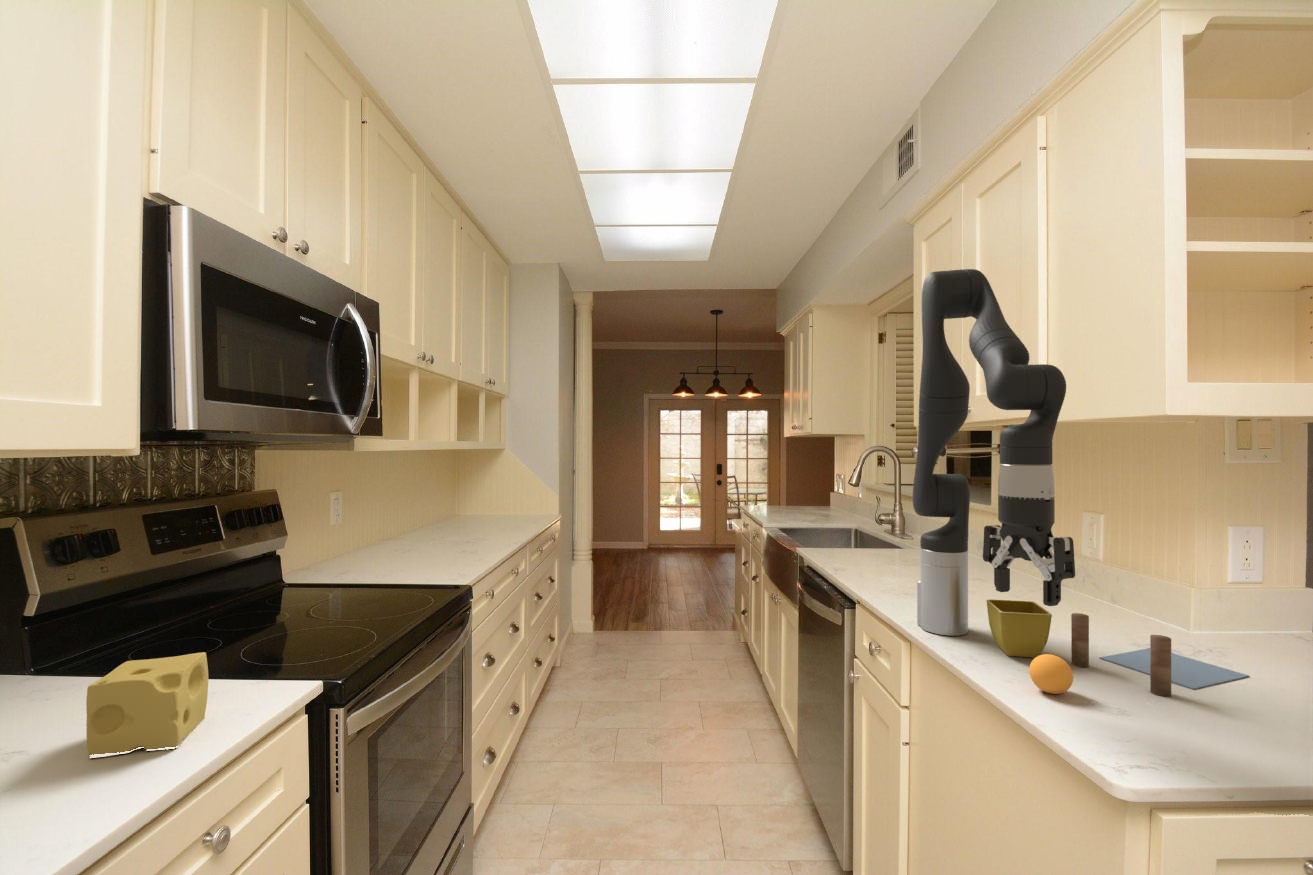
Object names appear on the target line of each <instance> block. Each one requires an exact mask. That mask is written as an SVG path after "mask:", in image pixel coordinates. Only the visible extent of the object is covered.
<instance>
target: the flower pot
mask: <svg viewBox="0 0 1313 875" xmlns="http://www.w3.org/2000/svg"><path fill="white" fill-rule="evenodd" d="M986 606H987V617H988V625H989V628H990V632H991V634H992V637H993V638H994V640H995V642H996V644H997V647H999V649H1000V650H1002V651H1003V652H1004V654H1005V655H1007V656H1008V657H1020V658H1031V659H1032V658H1033V659H1034V658H1036V657H1037V656H1040V655H1041V653H1042V652H1043V651H1044V650H1045V648H1046V645H1047V643H1048V640H1049V637H1050V629H1051V624H1052V617H1053V614H1052V613H1051V612H1049V611H1048V610H1047V609H1045V608H1044V607H1043V606H1041V605H1040V604H1038V603H1036V602H1035V601H1029V600H1009V599H1006V600H1005V599H986Z"/></svg>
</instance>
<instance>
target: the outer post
mask: <svg viewBox="0 0 1313 875" xmlns="http://www.w3.org/2000/svg"><path fill="white" fill-rule="evenodd" d="M1149 638H1150V639H1149V642H1150V644H1149V645H1150V646H1149V648H1150V675H1149V676H1150V693H1151V694H1154V695H1156V696H1160V697H1165V698H1168V697H1171V696H1172V682H1171V653H1172V637H1168V636H1166V635H1160V634H1151V635H1150V636H1149Z"/></svg>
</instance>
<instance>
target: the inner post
mask: <svg viewBox="0 0 1313 875" xmlns="http://www.w3.org/2000/svg"><path fill="white" fill-rule="evenodd" d="M1070 617H1071V623H1070V624H1071V626H1070V627H1071V629H1070V630H1071V632H1070V633H1071V642H1070V644H1071V647H1070V648H1071V649H1070V650H1071V665H1072V666H1073V667H1078V668H1081V669H1082V668H1083V669H1084V668H1085V669H1086V668H1089V667H1090V616H1089V615H1088V614H1084V613H1081V612H1073V613H1071V616H1070Z"/></svg>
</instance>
